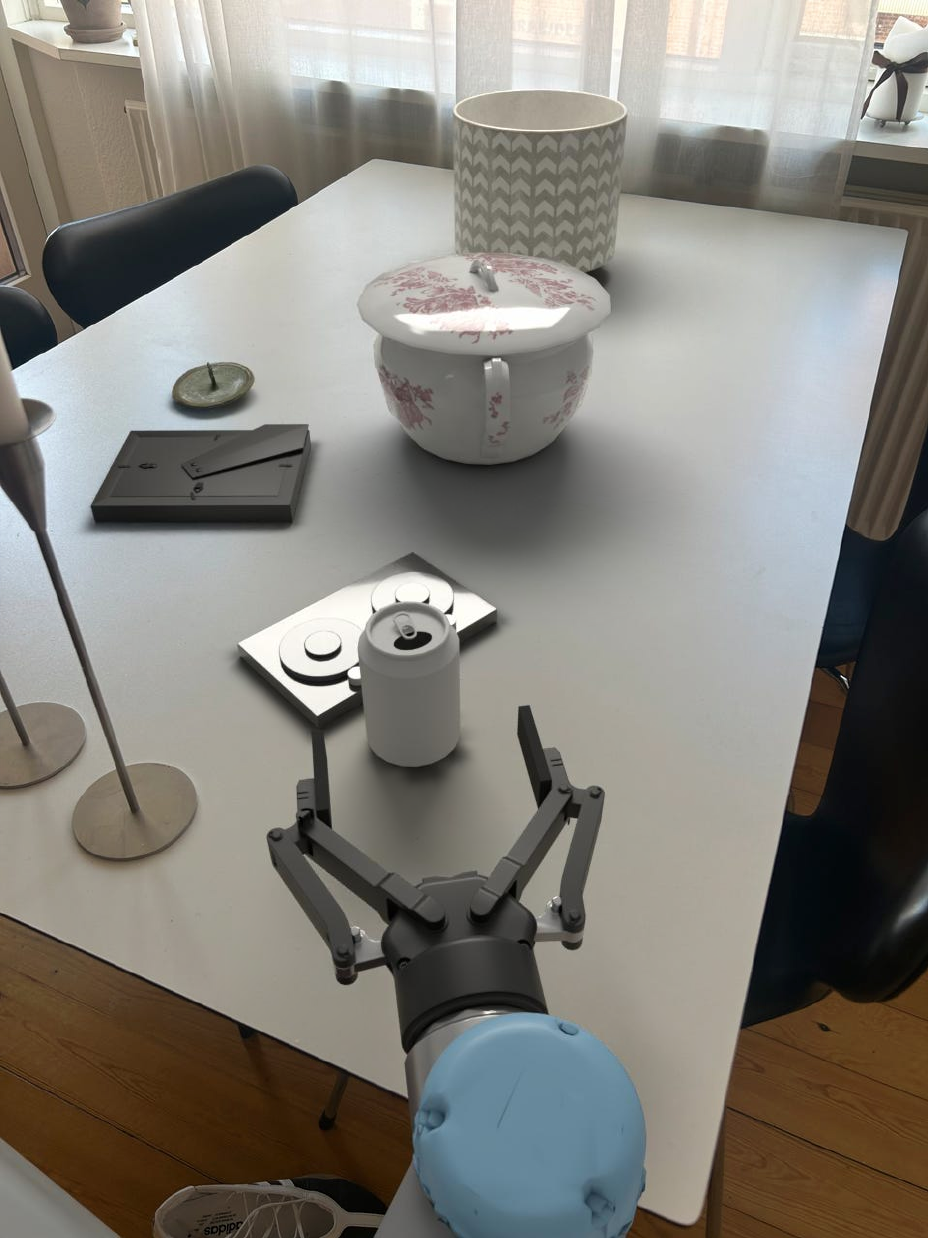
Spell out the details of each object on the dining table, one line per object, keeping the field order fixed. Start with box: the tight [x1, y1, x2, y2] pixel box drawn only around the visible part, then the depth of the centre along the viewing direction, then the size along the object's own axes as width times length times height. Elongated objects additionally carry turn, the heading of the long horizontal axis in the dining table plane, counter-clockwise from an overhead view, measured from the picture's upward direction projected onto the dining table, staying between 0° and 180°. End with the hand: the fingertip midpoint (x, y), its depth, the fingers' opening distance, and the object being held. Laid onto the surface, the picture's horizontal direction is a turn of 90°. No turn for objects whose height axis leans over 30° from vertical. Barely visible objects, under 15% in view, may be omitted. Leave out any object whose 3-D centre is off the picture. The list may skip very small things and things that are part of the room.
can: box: [357, 601, 461, 768], centre depth 74 cm, size 8×8×12 cm
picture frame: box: [89, 423, 312, 523], centre depth 106 cm, size 16×3×21 cm
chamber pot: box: [356, 253, 612, 466], centre depth 108 cm, size 28×28×21 cm
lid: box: [171, 361, 255, 409], centre depth 122 cm, size 11×10×5 cm
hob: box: [236, 551, 498, 730], centre depth 86 cm, size 12×20×2 cm, turn 132°
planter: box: [452, 88, 628, 273], centre depth 146 cm, size 25×25×24 cm
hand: (422, 731), depth 64 cm, fingers open, 13 cm apart
